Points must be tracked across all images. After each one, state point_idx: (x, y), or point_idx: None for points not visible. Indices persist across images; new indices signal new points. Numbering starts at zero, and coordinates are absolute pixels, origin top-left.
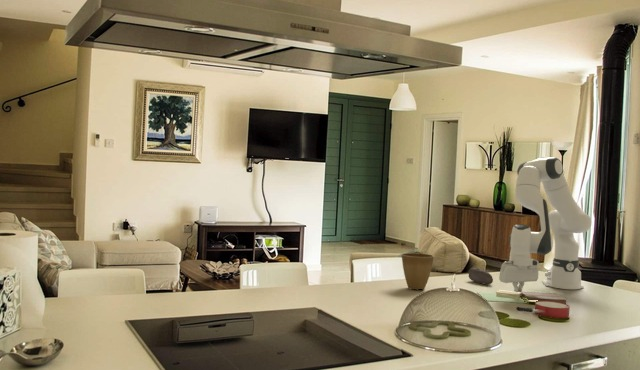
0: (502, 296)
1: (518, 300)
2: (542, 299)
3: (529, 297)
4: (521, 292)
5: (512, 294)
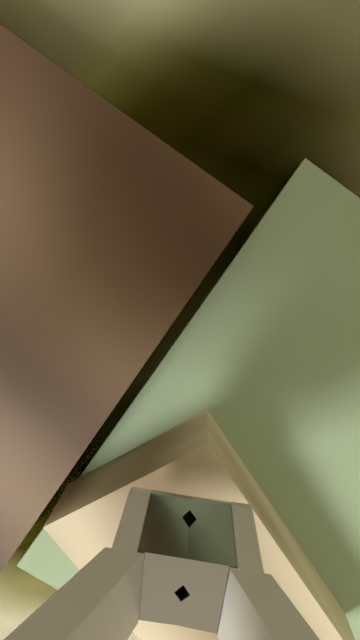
0: (311, 565)
1: (327, 338)
2: (46, 60)
3: (220, 231)
4: (26, 532)
5: (259, 515)
